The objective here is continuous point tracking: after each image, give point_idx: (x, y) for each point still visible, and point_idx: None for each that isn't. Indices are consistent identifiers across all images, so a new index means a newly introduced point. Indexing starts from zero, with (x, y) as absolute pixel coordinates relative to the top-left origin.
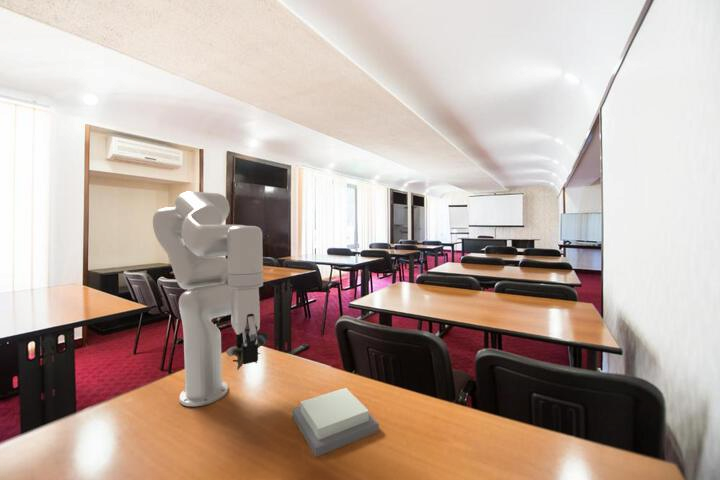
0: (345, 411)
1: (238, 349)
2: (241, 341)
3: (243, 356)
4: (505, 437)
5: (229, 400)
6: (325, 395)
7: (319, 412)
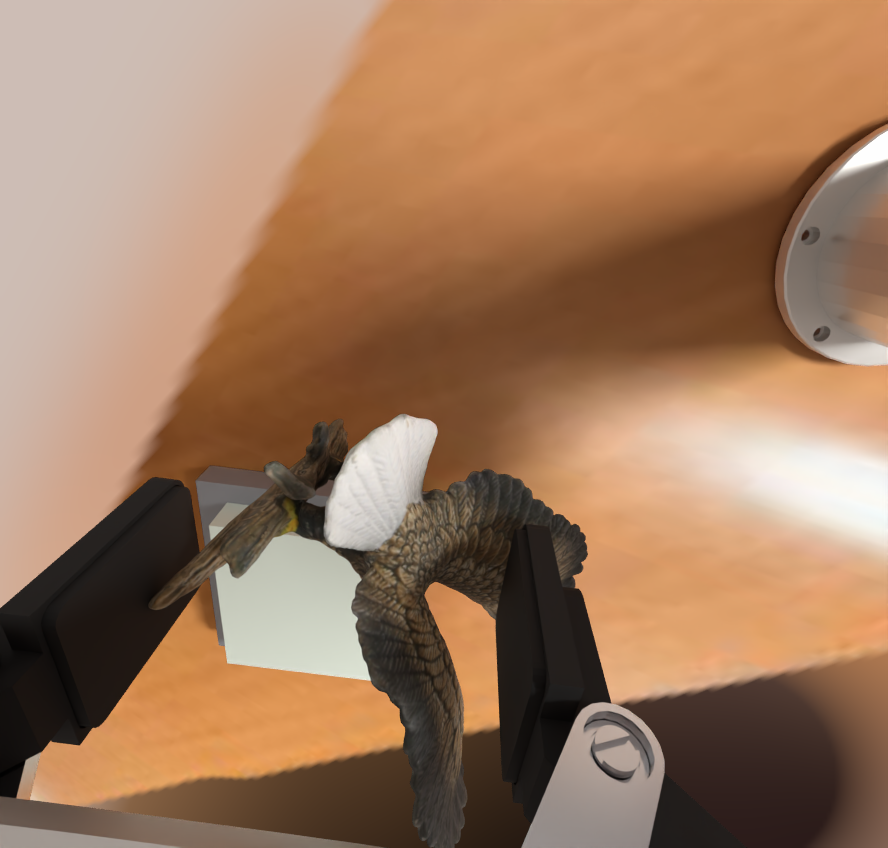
0: (256, 619)
1: (363, 539)
2: (514, 626)
3: (106, 526)
4: (96, 765)
5: (728, 339)
6: None
7: (294, 565)
